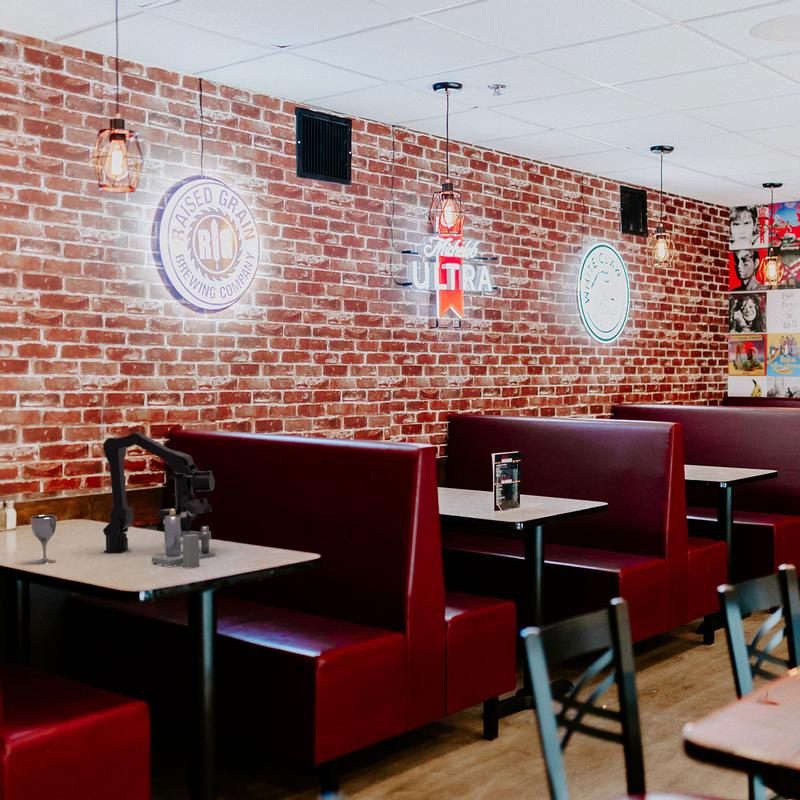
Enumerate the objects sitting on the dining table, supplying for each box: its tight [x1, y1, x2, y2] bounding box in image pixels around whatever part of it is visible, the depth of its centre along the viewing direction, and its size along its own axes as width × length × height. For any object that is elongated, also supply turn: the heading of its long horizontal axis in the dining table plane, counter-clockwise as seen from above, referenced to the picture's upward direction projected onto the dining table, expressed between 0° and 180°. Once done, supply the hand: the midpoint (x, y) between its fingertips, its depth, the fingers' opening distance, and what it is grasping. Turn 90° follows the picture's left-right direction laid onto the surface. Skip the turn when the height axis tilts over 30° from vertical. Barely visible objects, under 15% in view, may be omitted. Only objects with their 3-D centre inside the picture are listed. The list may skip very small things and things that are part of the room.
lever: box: [180, 525, 212, 553], centre depth 339 cm, size 17×4×9 cm, turn 58°
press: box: [151, 534, 217, 568], centre depth 326 cm, size 16×22×10 cm
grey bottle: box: [164, 508, 182, 558], centre depth 324 cm, size 5×5×15 cm
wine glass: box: [30, 514, 58, 565], centre depth 328 cm, size 8×8×15 cm
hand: (185, 536), depth 344 cm, fingers closed
